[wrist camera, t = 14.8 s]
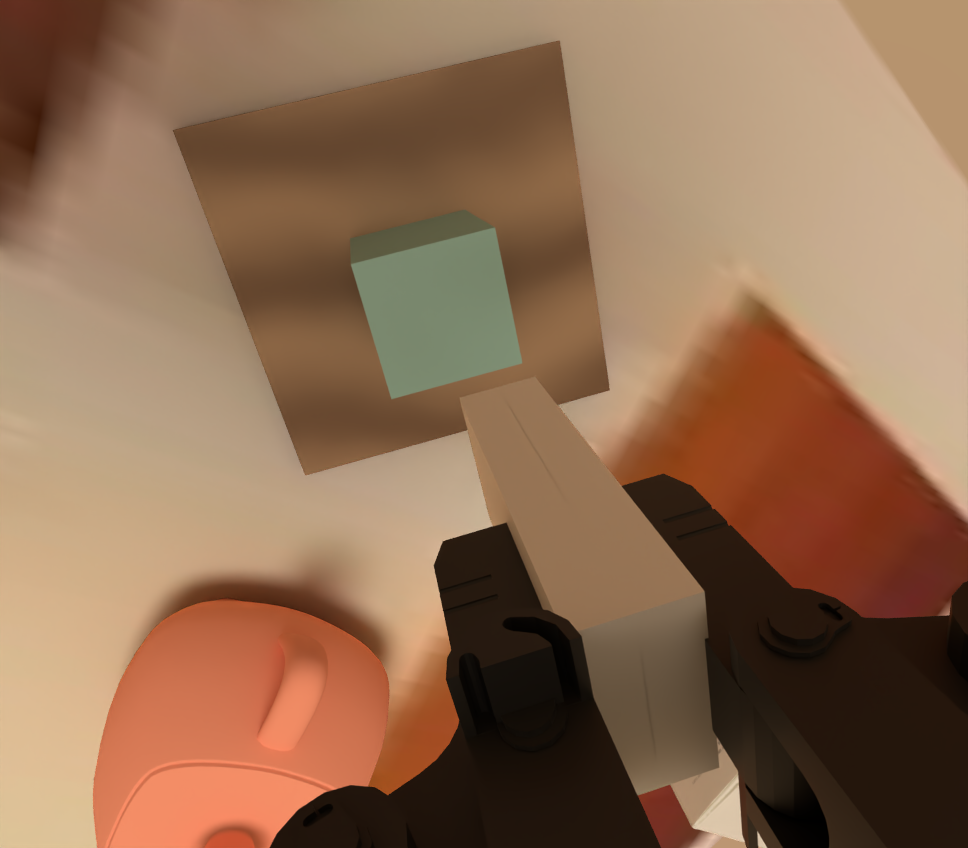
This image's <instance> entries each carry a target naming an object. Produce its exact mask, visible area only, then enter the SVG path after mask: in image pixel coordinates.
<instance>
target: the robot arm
mask: <svg viewBox="0 0 968 848" xmlns="http://www.w3.org/2000/svg"><path fill="white" fill-rule="evenodd" d="M460 402H461V406H462V410H463V414H464V418H465V422H466V426H467V430H468V434H469V438H470V442H471V446H472V450H473V454H474V458H475V462H476V466H477V470H478V474H479V478H480V482H481V486H482V490H483V494H484V498H485V502H486V506H487V510H488V514H489V517H490V520H491V522H492V525H493V527H489V528H486V529H483V530H479V531H476V532H473V533H469V534H466V535H462V536H459V537H456V538H452V539H449V540H445V541H443V543H442V545H441V548H440V551H439V553H438V556H437V559H436V561H435V564H434V569H435V574H436V578H437V583H438V588H439V592H440V598H441V602H442V607H443V611H444V617H445V621H446V626H447V631H448V636H449V641H450V645H451V652H450V654H449V656H448V658H447V670H446V681H447V684H448V687H449V690H450V693H451V696H452V699H453V702H454V705H455V708H456V711H457V714H458V718H459V725H458V728H457V730H456V732H455V734H454V736H453V738H452V740H451V742H450V744H449V745H448V746H447V748H446V749H445V750H444V751H443V752H442V754H441V755H440V756H439V757H438V759H437V760H436V761H434V762H433V763H432V764H431V765H430V766H428V767H427V768H426V769H425V770H424V771H422V772H421V773H420V774H419V775H417V776H416V777H414V778H413V779H411V780H410V781H408V782H407V783H405V784H404V785H402V786H401V787H399V788H398V789H397V790H395V791H394V792H392V793H391V794H389V795H386V794H385V793H383V792H382V791H380V790H378V789H377V788H375V787H367V786H356V785H349V786H345V787H342V788H338V789H335V790H331V791H328V792H324V793H323V794H321V795H320V796H318V797H316V798H315V799H313V800H312V801H310V802H309V803H307V804H306V805H304V806H303V807H301V808H300V809H298V810H297V811H296V813H295V814H294V815H293V816H292V817H291V818H290V819H289V820H288V821H287V823H286V824H285V825H284V826H283V827H282V828H281V829H280V830H279V832H278V833H277V834H276V836H275V838H274V840H273V842H272V844H271V846H270V848H661V847H660V844H659V842H658V840H657V838H656V836H655V833H654V831H653V829H652V827H651V824H650V822H649V820H648V818H647V815H646V813H645V811H644V809H643V807H642V804H641V802H640V800H639V798H638V795H640V794H643V793H646V792H649V791H652V790H655V789H658V788H661V787H664V786H667V785H670V784H673V783H676V782H679V781H682V780H684V779H687V778H690V777H693V776H696V775H699V774H702V773H705V772H708V771H711V770H714V769H717V768H719V757H718V745H717V738H718V740H719V741H720V743H721V745H722V746H723V748H724V749H725V751H726V753H727V754H728V756H729V758H730V759H731V761H732V762H733V764H734V766H735V767H736V769H737V770H738V780H739V795H740V810H741V825H742V836H743V838H744V841H745V844H746V847H747V848H758V833H759V835H760V837H761V838H762V840H763V842H764V843H765V845H766V847H767V848H968V581H967V582H964V583H963V584H962V585H961V586H960V587H959V589H958V590H957V591H956V592H955V593H954V594H953V595H952V600H951V607H950V615H949V616H928V617H907V618H863V617H861V616H860V615H859V614H858V613H857V612H855V611H854V610H852V609H851V608H849V607H848V606H846V605H845V604H844V603H842V602H841V601H839V600H838V599H836V598H834V597H831V596H828V595H825V594H822V593H819V592H816V591H813V590H810V589H799V588H793V587H792V586H791V585H790V584H789V583H788V582H787V581H786V580H785V579H784V578H783V577H782V576H781V575H780V574H779V573H778V572H777V571H776V570H775V569H774V568H773V567H772V566H771V565H770V564H769V563H768V562H767V561H766V560H765V559H764V558H763V557H762V556H761V555H760V554H759V553H758V552H757V551H756V550H755V549H754V548H753V547H752V546H751V545H750V544H749V543H748V542H747V541H746V540H745V539H744V538H743V537H742V536H741V535H740V534H739V533H738V532H737V531H736V530H735V529H734V528H733V527H732V526H731V525H730V526H728V524H727V521H726V520H725V519H724V518H723V517H722V516H721V515H720V514H719V513H718V512H717V511H716V510H715V509H712V507H711V505H710V504H709V503H708V502H707V501H706V500H705V499H704V498H703V497H702V496H701V495H700V494H699V493H698V492H697V491H696V490H695V489H694V488H693V487H692V486H691V485H688V484H686V483H684V482H681V481H679V480H677V479H675V478H672V477H670V476H668V475H665V474H661V475H657V476H654V477H651V478H647V479H644V480H640V481H637V482H634V483H630V484H627V485H624V486H621V485H620V484H619V482H618V481H617V480H616V479H615V477H614V476H613V475H612V474H611V472H610V471H609V470H608V469H607V467H606V466H605V465H604V463H603V462H602V461H601V460H600V458H599V457H598V456H597V455H596V453H595V452H594V451H593V450H592V448H591V447H590V446H589V444H588V443H587V442H586V441H585V439H584V438H583V437H582V436H581V434H580V433H579V432H578V431H577V429H576V428H575V427H574V425H573V424H572V423H571V422H570V420H569V419H568V418H567V417H566V415H565V414H564V413H563V412H562V410H561V409H560V408H559V406H558V405H557V404H556V403H555V401H554V400H553V399H552V398H551V396H550V395H549V394H548V393H547V391H546V390H545V389H544V388H543V386H542V385H541V384H540V382H539V381H538V380H537V379H536V377H532V378H529V379H525V380H522V381H518V382H514V383H511V384H507V385H503V386H500V387H496V388H493V389H489V390H485V391H482V392H478V393H475V394H471V395H467V396H464V397H460ZM757 831H758V833H757Z"/></svg>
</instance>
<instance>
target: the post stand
mask: <svg viewBox="0 0 968 848" xmlns="http://www.w3.org/2000/svg"><path fill="white" fill-rule="evenodd" d="M173 132H174V134H175V137H176V139H177V142H178V145H179V147H180V150H181V153H182V155H183V158H184V160H185V163H186V166H187V168H188V171H189V173H190V176H191V179H192V181H193V184H194V186H195V189H196V192H197V194H198V197H199V200H200V202H201V205H202V207H203V210H204V213H205V215H206V218H207V220H208V223H209V226H210V228H211V231H212V233H213V236H214V239H215V241H216V244H217V246H218V249H219V252H220V254H221V257H222V260H223V262H224V265H225V267H226V270H227V273H228V275H229V278H230V280H231V283H232V286H233V288H234V291H235V293H236V296H237V299H238V301H239V304H240V307H241V309H242V312H243V314H244V317H245V320H246V322H247V325H248V327H249V330H250V333H251V335H252V338H253V340H254V343H255V346H256V348H257V351H258V353H259V356H260V359H261V361H262V364H263V367H264V369H265V372H266V374H267V377H268V380H269V382H270V385H271V387H272V390H273V393H274V395H275V398H276V400H277V403H278V406H279V408H280V411H281V413H282V416H283V419H284V421H285V424H286V427H287V429H288V432H289V434H290V437H291V440H292V442H293V445H294V447H295V450H296V453H297V455H298V458H299V460H300V463H301V466H302V468H303V471H304V474H305V475H309V474H312V473H316V472H319V471H323V470H326V469H330V468H334V467H337V466H341V465H344V464H348V463H351V462H355V461H359V460H362V459H366V458H369V457H373V456H376V455H380V454H384V453H387V452H391V451H394V450H398V449H401V448H405V447H409V446H412V445H416V444H419V443H423V442H426V441H430V440H434V439H437V438H441V437H444V436H448V435H451V434H455V433H459V432H462V431H466V430H467V426H466V422H465V418H464V414H463V410H462V406H461V402H460V397H464V396H467V395H471V394H475V393H478V392H482V391H485V390H489V389H493V388H496V387H500V386H503V385H507V384H511V383H514V382H518V381H522V380H525V379H529V378H532V377H536V379H537V380H538V381H539V382H540V384H541V385H542V386H543V388H544V389H545V390H546V391H547V393H548V394H549V395H550V396H551V398H552V399H553V400H554V401H555V403H556V404H557V405H558V404H562V403H566V402H569V401H573V400H576V399H580V398H583V397H587V396H591V395H594V394H598V393H601V392H605V391H608V390H610V389H609V382H608V375H607V368H606V361H605V354H604V347H603V340H602V333H601V326H600V319H599V312H598V305H597V298H596V291H595V284H594V277H593V270H592V263H591V256H590V249H589V242H588V235H587V228H586V221H585V214H584V207H583V200H582V193H581V186H580V179H579V172H578V165H577V158H576V151H575V144H574V137H573V130H572V123H571V116H570V109H569V102H568V95H567V88H566V81H565V74H564V67H563V60H562V53H561V46H560V41H556V42H551V43H547V44H543V45H538V46H534V47H530V48H525V49H521V50H517V51H512V52H508V53H504V54H500V55H495V56H491V57H487V58H482V59H478V60H474V61H469V62H465V63H461V64H456V65H452V66H448V67H443V68H439V69H435V70H431V71H426V72H422V73H418V74H413V75H409V76H405V77H400V78H396V79H392V80H387V81H383V82H379V83H374V84H370V85H366V86H361V87H357V88H353V89H349V90H344V91H340V92H336V93H331V94H327V95H323V96H318V97H314V98H310V99H305V100H301V101H297V102H292V103H288V104H284V105H280V106H275V107H271V108H267V109H262V110H258V111H254V112H249V113H245V114H241V115H236V116H232V117H228V118H223V119H219V120H215V121H210V122H206V123H202V124H198V125H193V126H189V127H185V128H180V129H176V130H173ZM461 210H466V211H468V212H470V213H472V214H473V215H475V216H477V217H478V218H480V219H482V220H483V221H485V222H487V223H488V224H490V225H492V226H494V227H495V230H496V235H497V240H498V245H499V250H500V255H501V260H502V264H503V269H504V274H505V279H506V284H507V289H508V294H509V299H510V304H511V309H512V314H513V319H514V324H515V329H516V334H517V339H518V344H519V348H520V353H521V358H522V364H518V365H514V366H511V367H507V368H504V369H500V370H496V371H493V372H489V373H485V374H482V375H478V376H474V377H471V378H467V379H463V380H460V381H456V382H453V383H449V384H445V385H442V386H438V387H434V388H431V389H427V390H423V391H420V392H416V393H412V394H409V395H405V396H401V397H398V398H394V399H391V396H390V393H389V389H388V386H387V383H386V379H385V376H384V373H383V369H382V366H381V363H380V359H379V356H378V353H377V350H376V346H375V343H374V340H373V336H372V333H371V330H370V326H369V323H368V320H367V316H366V313H365V310H364V306H363V303H362V300H361V296H360V293H359V290H358V287H357V283H356V280H355V277H354V273H353V270H352V267H351V254H350V238H354V237H358V236H362V235H366V234H370V233H374V232H378V231H382V230H386V229H390V228H394V227H398V226H402V225H406V224H409V223H413V222H417V221H421V220H425V219H429V218H433V217H437V216H441V215H445V214H449V213H453V212H457V211H461Z"/></svg>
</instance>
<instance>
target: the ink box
mask: <svg viewBox="0 0 968 848" xmlns="http://www.w3.org/2000/svg"><path fill="white" fill-rule="evenodd" d="M717 745H718V757H719V768H717V769H714V770H711V771H708V772H705V773H702V774H699V775H696V776H693V777H690V778H687V779H684V780H682V781H679V782H676V783H673V784H670V785H671V787H672V789H673V791H674V793H675V795H676V797H677V799H678V801H679V803H680V805H681V807H682V809H683V810H684V812H685V814H686V816H687V818H688V820H689V822H690V824H691V826H692V827H693V828H694V829H699V830H703V831H706V832H710V833H713V834H717V835H720V836H724V837H727V838H731V839H734V840H738V841H741V842H745V841H744V838H743V836H742V825H741V810H740V795H739V780H738V770H737V769H736V767H735V766H734V764H733V762H732V761H731V759H730V758H729V756H728V754H727V753H726V751H725V749H724V748H723V746H722V745H721V743H720V741H719V740H718V738H717ZM757 833H758V831H757ZM758 847H762V848H767V847H766V845H765V843H764V842H763V840H762V838H761V837H760V835H759V833H758Z"/></svg>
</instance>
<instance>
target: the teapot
mask: <svg viewBox="0 0 968 848" xmlns="http://www.w3.org/2000/svg"><path fill="white" fill-rule="evenodd" d="M388 706H389V682H388V677H387V674H386V672H385V669H384V667H383V666H382V664H381V662H380V660H379V659H378V658H377V657H376V656H375V655H374V654H373V652H372V651H371V650H370V649H369V648H368V647H367V646H366V645H364V644H363V643H362V642H360V641H359V640H358V639H356V638H355V637H353V636H351V635H350V634H348V633H347V632H345V631H343V630H341V629H339V628H338V627H336V626H334V625H332V624H330V623H328V622H326V621H324V620H322V619H319V618H317V617H314V616H312V615H310V614H307V613H304V612H301V611H297V610H294V609H290V608H286V607H282V606H277V605H271V604H264V603H256V602H246V601H239V600H236V599H232V598H222V599H218V600H215V601H208V602H201V603H198V604H194V605H192V606H189V607H186V608H184V609H182V610H180V611H178V612H176V613H174V614H173V615H171V616H169V617H167V618H166V619H164V620H163V621H162V622H161V623H160V624H158V625H157V626H156V627H155V628H154V629H153V630H152V631H151V633H150V634H149V635H148V636H147V638H146V639H145V641H144V642H143V643H142V645H141V646H140V648H139V649H138V650H137V652H136V654H135V655H134V657H133V659H132V660H131V662H130V664H129V665H128V667H127V669H126V671H125V673H124V675H123V677H122V679H121V681H120V683H119V685H118V688H117V690H116V693H115V696H114V698H113V701H112V704H111V707H110V709H109V712H108V716H107V720H106V724H105V728H104V732H103V736H102V740H101V744H100V749H99V755H98V760H97V766H96V771H95V777H94V788H93V809H94V822H95V832H96V840H97V848H270V846H271V844H272V842H273V840H274V838H275V836H276V834H277V833H278V832H279V830H280V829H281V828H282V827H283V826H284V825H285V824H286V823H287V821H288V820H289V819H290V818H291V817H292V816H293V815H294V814H295V813H296V811H297V810H298V809H300V808H301V807H303V806H304V805H306V804H307V803H309V802H310V801H312V800H313V799H315V798H316V797H318V796H320V795H321V794H323V793H324V792H328V791H331V790H335V789H338V788H342V787H345V786H349V785H356V786H367V787H368V784H369V782H370V779H371V777H372V774H373V771H374V769H375V766H376V763H377V760H378V758H379V755H380V752H381V749H382V745H383V741H384V737H385V732H386V725H387V718H388Z"/></svg>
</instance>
